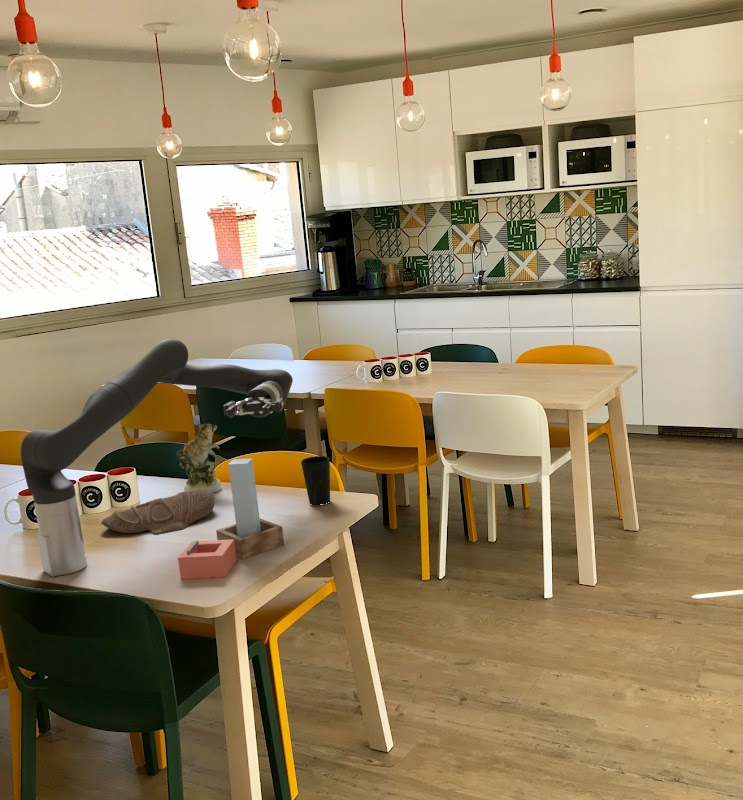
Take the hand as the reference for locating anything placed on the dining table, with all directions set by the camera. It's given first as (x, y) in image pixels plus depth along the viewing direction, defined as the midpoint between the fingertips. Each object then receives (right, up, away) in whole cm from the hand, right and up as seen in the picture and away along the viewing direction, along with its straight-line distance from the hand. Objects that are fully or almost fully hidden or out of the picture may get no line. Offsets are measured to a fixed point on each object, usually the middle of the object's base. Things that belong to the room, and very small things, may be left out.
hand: (246, 412), depth 220 cm
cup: (+16, -25, +25) cm, 39 cm away
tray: (+2, -32, -4) cm, 32 cm away
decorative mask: (-26, -30, +23) cm, 46 cm away
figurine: (-19, -24, +48) cm, 57 cm away
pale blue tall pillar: (+1, -31, -4) cm, 31 cm away
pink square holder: (-6, -35, -16) cm, 39 cm away
